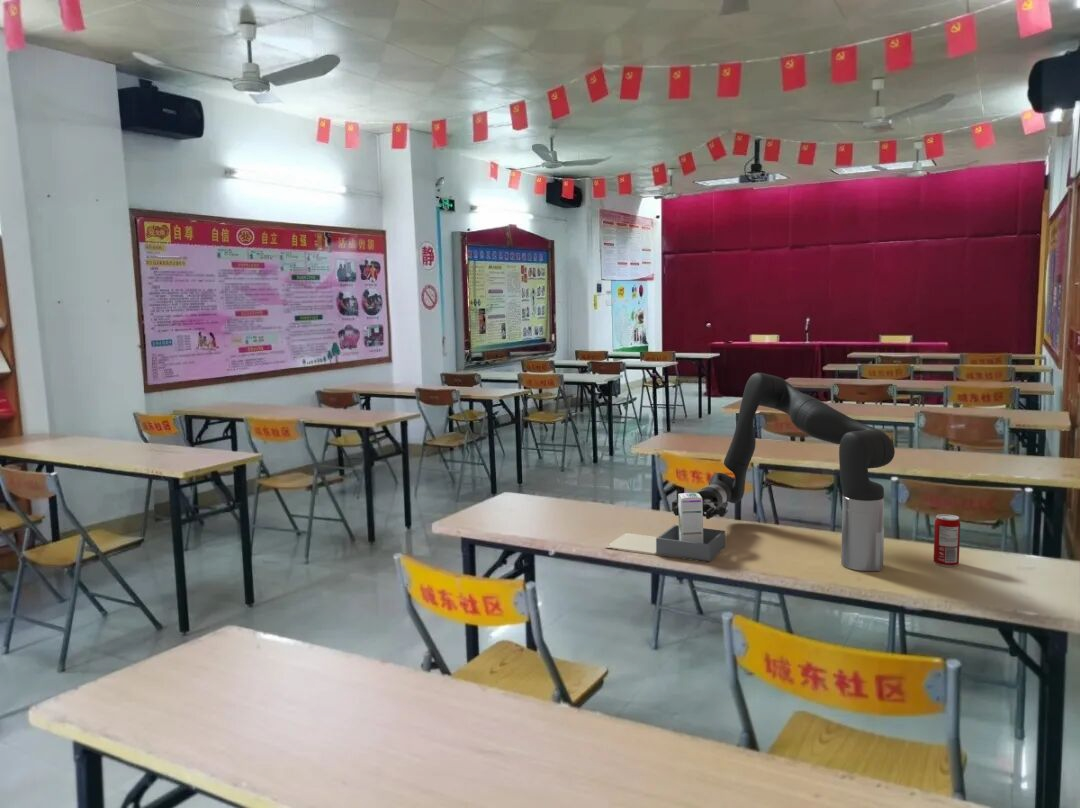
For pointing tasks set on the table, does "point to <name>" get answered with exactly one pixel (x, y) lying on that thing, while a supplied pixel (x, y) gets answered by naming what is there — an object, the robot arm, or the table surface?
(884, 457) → the robot arm
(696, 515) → the syrup box
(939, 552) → the soda can
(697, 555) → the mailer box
